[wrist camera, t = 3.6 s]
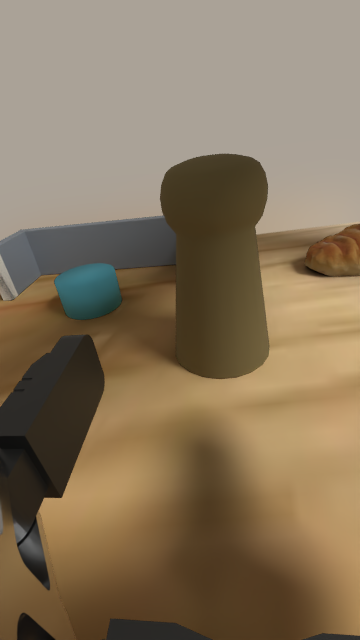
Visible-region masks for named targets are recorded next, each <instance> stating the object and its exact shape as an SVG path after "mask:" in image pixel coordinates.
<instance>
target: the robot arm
mask: <svg viewBox="0 0 360 640" xmlns="http://www.w3.org/2000/svg"><path fill="white" fill-rule="evenodd" d="M104 382H105V381H104V373H103V370H102V367H101V364H100V361H99V358H98V355H97V352H96V349H95V346H94V342H93V340H92V338H91V336H89V335H71V336H63V337H61V338H60V340H59V341H58V342H57V344H56V345H55V347H54V348H53V350H52V351H51V353H46V354H45V355H44V356H42V357H41V358H40V359H39V360H37V361H36V362H35V363H33V364H32V365H31V367H30V368H29V369H28V371H27V372H26V373H25V375H24V376H23V377H22V381H19V383H18V384H17V385H16V387H15V388H14V392H13V393H11V394H10V395H9V396H8V398H7V399H6V400H5V402H4V403H3V404H2V406H1V407H0V640H76V638H75V634H74V631H73V628H72V625H71V622H70V619H69V617H68V614H67V612H66V610H65V608H64V606H63V603H62V601H61V598H60V595H59V592H58V588H57V583H56V579H55V575H54V570H53V566H52V562H51V557H50V553H49V548H48V544H47V540H46V535H45V531H44V526H43V522H42V518H41V515H40V513H39V511H38V510H39V508H40V506H41V503H42V501H43V499H44V498H62V496H63V493H64V491H65V488H66V486H67V483H68V481H69V478H70V475H71V473H72V470H73V468H74V465H75V463H76V460H77V458H78V455H79V453H80V450H81V448H82V445H83V442H84V440H85V437H86V435H87V432H88V430H89V427H90V425H91V422H92V420H93V417H94V415H95V412H96V409H97V407H98V404H99V402H100V399H101V397H102V394H103V391H104ZM102 640H212V639H210V638H207V637H205V636H203V635H201V634H199V633H196V632H194V631H192V630H190V629H188V628H185V627H183V626H181V625H179V624H176V623H167V622H153V621H138V620H124V619H110V623H109V628H108V634H107V638H106V639H102ZM303 640H360V636H354V635H340V634H325V633H322V634H319V635H316V636H313V637H309V638H306V639H303Z"/></svg>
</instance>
